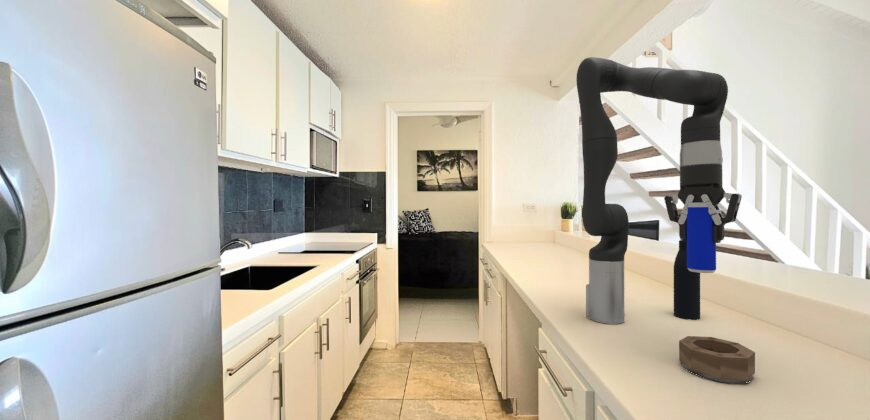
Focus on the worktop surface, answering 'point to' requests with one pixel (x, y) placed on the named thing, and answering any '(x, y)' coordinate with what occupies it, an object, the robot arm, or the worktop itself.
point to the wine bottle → (685, 286)
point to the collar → (717, 359)
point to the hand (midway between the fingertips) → (701, 241)
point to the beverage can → (700, 239)
